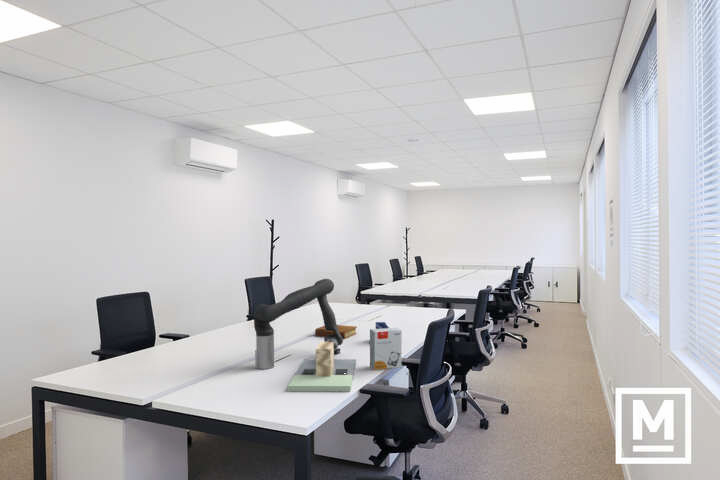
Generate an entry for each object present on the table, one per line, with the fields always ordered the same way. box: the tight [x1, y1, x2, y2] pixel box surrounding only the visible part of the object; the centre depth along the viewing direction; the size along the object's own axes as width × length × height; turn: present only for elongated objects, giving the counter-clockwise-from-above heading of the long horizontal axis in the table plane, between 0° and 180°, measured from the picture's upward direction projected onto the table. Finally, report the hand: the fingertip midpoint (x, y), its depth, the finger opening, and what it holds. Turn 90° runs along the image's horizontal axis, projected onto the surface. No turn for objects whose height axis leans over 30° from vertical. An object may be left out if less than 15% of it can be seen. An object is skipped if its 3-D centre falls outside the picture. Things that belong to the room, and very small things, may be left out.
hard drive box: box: [369, 327, 403, 371], centre depth 241 cm, size 16×8×20 cm, turn 105°
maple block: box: [315, 341, 335, 376], centre depth 226 cm, size 7×15×13 cm, turn 178°
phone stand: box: [375, 321, 390, 329], centre depth 298 cm, size 12×12×12 cm
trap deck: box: [287, 358, 357, 393], centre depth 227 cm, size 28×44×2 cm, turn 177°
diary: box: [314, 324, 358, 340], centre depth 321 cm, size 23×19×6 cm
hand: (326, 355), depth 234 cm, fingers closed
